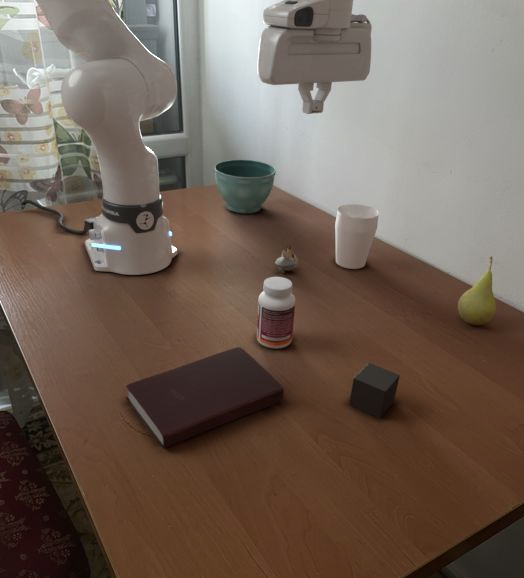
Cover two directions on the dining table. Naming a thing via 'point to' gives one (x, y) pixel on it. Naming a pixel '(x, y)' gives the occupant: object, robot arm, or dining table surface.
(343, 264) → the cup
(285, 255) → the figurine
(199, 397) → the book
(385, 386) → the charcoal block
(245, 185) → the flower pot
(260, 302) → the pill bottle
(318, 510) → the dining table surface
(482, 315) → the fruit
